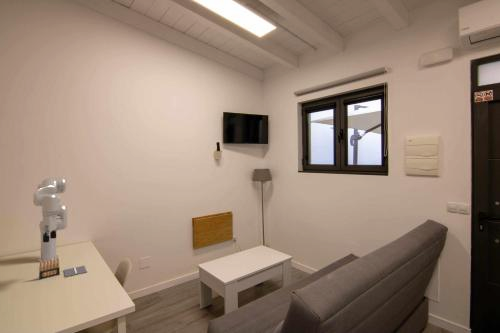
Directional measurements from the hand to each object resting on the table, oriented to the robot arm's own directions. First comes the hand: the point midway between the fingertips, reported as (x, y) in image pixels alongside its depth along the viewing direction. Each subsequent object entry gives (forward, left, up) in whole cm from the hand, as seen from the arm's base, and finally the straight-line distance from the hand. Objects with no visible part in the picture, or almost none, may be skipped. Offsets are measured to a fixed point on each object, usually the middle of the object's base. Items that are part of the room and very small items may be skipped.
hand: (49, 240), depth 164 cm
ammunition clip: (-2, 0, -25) cm, 25 cm away
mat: (-1, +14, -25) cm, 28 cm away
